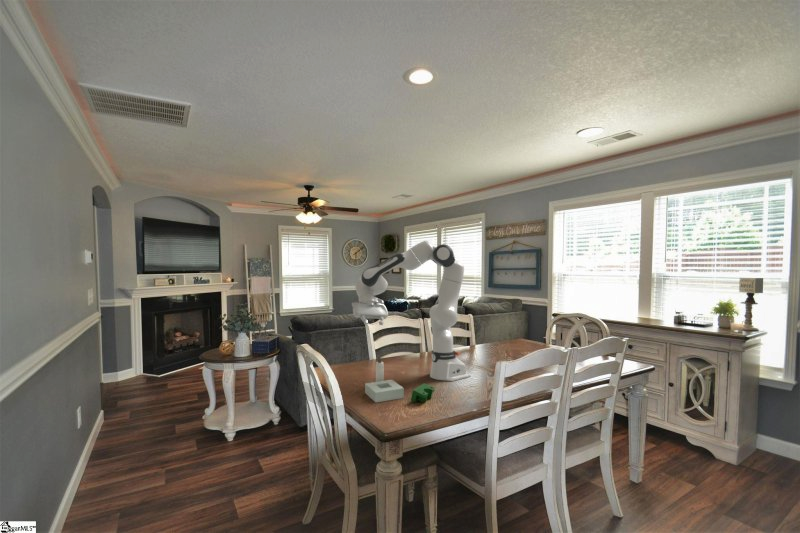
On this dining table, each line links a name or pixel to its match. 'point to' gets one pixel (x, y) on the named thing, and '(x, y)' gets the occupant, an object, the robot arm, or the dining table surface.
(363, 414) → the dining table surface
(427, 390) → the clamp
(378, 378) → the white bottle
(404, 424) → the dining table surface
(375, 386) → the housing
